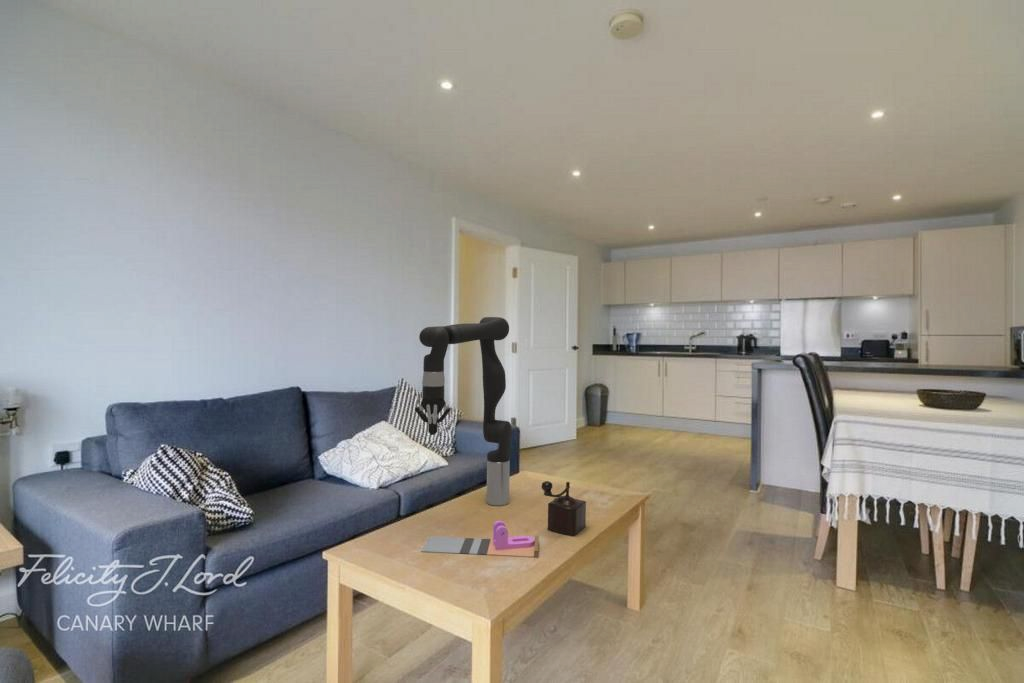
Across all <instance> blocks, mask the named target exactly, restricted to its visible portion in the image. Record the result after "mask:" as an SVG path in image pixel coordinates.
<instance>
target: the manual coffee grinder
mask: <svg viewBox="0 0 1024 683" xmlns="http://www.w3.org/2000/svg"><path fill="white" fill-rule="evenodd" d="M565 482H566V483H565V488H564V489H563V490H562V491H561V492H560V493H558V494H553V492H552V489H553V483H552V482H551V481H548V480H545V481H543V482H542V483H541V486H540V487H541V490H542V491H543V496H545V497H551V498H554V499H553V500H552V501H550V502H549V503H547V530H548V531H550V532H553V533H557V534H560V535H564V536H569V537H575V536H577V535H578V534H580V533H581V532H582V531H583V530H584V529H585V528H586V525H587V524H586V518H587V516H586V515H587V514H586V513H587V511H586V507H587V501H586V500H581V499H578V498H574V497H573V496H570V487H571V486H570V482H569V481H565Z"/></svg>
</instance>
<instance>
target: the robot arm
mask: <svg viewBox="0 0 1024 683" xmlns="http://www.w3.org/2000/svg"><path fill="white" fill-rule="evenodd" d="M509 332H510V325H509V323H508V320H506V319H505V318H504V317H497V316H486V317H482V318H481V320H480V321H479V322H478V323H477V322H476V323H474V322H473V323H456V324H449V325H444V326H443V325H442V326H441V325H439V326H427V327H424V328H423V329H422V330H421V331H420V332H419V335H418V336H419V338H418V339H419V342H420V343H421V345H423V346H425V347H427V348H431V350H430V352H429V354H425V355H424V357H423V366H422V367H423V372H422V381H421V382H422V383H421V384H422V386H421V387H422V392H421V393H422V397H421V398H422V399H421V402H420V404H419V405H418V406H416V407H415V408H414V411H415V412H416V414H418V416H419V418H420V419H421V420H422V422H423V423H427V424H428V431H427V432H428V434H430V435H431V436H435V435H436V434H437V433H438V429H439V428H438V424H440V423H442V422H443V421H444V419H446V417H447V416H448V415H449V413H451V411H452V407H449V406H448V405H447V404H446V400H445V381H446V380H445V357H446V354H447V351H448V347H449V345H457V344H464V343H468V342H474V341H479V345H480V354H481V365H482V366H481V367H482V368H481V369H482V389H483V392H482V393H483V418H482V419H483V420H482V422H483V424H482V433H483V438H484V440H485V442H487V443H493V444H498V447H497V449H493V450H490V451H489V452H488V453H487V455H486V504H488V505H491V506H497V507H498V506H505V505H508V504H509V503H510V469H511V468H510V466H511V465H510V464H511V463H510V459H511V457H510V456H511V450H512V439H513V438H512V437H513V436H512V435H513V434H512V433H513V428H512V427H513V426H512V424H511V422H510V421H509V420H508V421H507V420H500V419H498V420H497V419H496V409H497V406H498V404H499V403H500V401H501V399H502V397H503V396H504V394H505V392H506V388H507V386H506V384H507V383H506V382H507V379H506V378H507V377H506V372H505V371H506V370H505V368H504V366H503V364H502V361H501V360H500V358H499V356H498V355H497V351H496V346H495V341H503V340H504V339H506V337H507V336H508V335H509ZM442 410H443V413H442V414H441V416H440V413H441V412H442ZM424 411H425V413H426V414H425V413H424ZM439 416H440V417H439Z"/></svg>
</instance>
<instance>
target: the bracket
mask: <svg viewBox="0 0 1024 683" xmlns="http://www.w3.org/2000/svg"><path fill="white" fill-rule="evenodd" d="M492 531H493V535H492V536H493V538H492V539H493V543H494V546H495V548H496V550H501V549H514V548H528V547H532V546H534V544H535V537H533V536H531V535H530V536H528V535H518V536H509V531H508V529H507V526H506V524H505V522H504V521H503V520H496V521H495V522H494V524H493V530H492Z"/></svg>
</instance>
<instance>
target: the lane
mask: <svg viewBox="0 0 1024 683" xmlns="http://www.w3.org/2000/svg"><path fill="white" fill-rule="evenodd" d="M534 539H535V544H534V546H532V547H528V548H514V549H501V550H496V548H495V546H494V543H493V538H476V537H475V538H474V537H472V538H471V537H451V536H434V535H433V536H432V535H430V536H429V537H428V539H427V540H426V542H425V543H424V544H423V547H422V549H421V550H420V553H433V554H434V553H435V554H437V553H439V554H453V555H455V554H456V555H478V556H479V555H481V556H498V557H499V556H500V557H501V556H502V557H519V558H520V557H521V558H525V557H526V558H539V545H540V544H539V542H540V541H539V540H540V538H539V535H535V536H534Z"/></svg>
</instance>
